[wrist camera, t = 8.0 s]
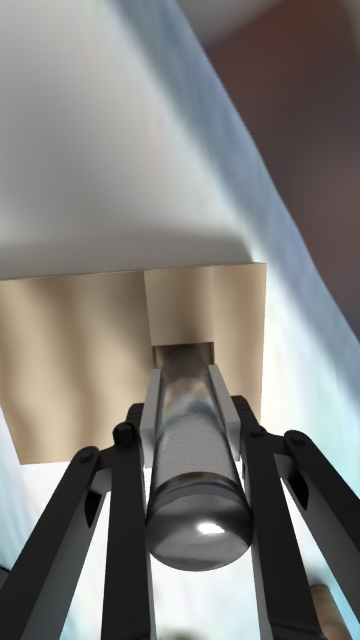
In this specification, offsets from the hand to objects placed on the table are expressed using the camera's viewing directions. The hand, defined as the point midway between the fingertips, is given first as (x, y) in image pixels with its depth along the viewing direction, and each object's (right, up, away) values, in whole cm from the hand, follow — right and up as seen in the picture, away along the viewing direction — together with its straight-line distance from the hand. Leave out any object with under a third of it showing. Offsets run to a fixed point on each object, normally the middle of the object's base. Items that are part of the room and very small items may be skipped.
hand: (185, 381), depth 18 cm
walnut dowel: (+21, -37, +16) cm, 45 cm away
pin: (0, +1, +2) cm, 2 cm away
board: (-5, +1, +4) cm, 7 cm away
